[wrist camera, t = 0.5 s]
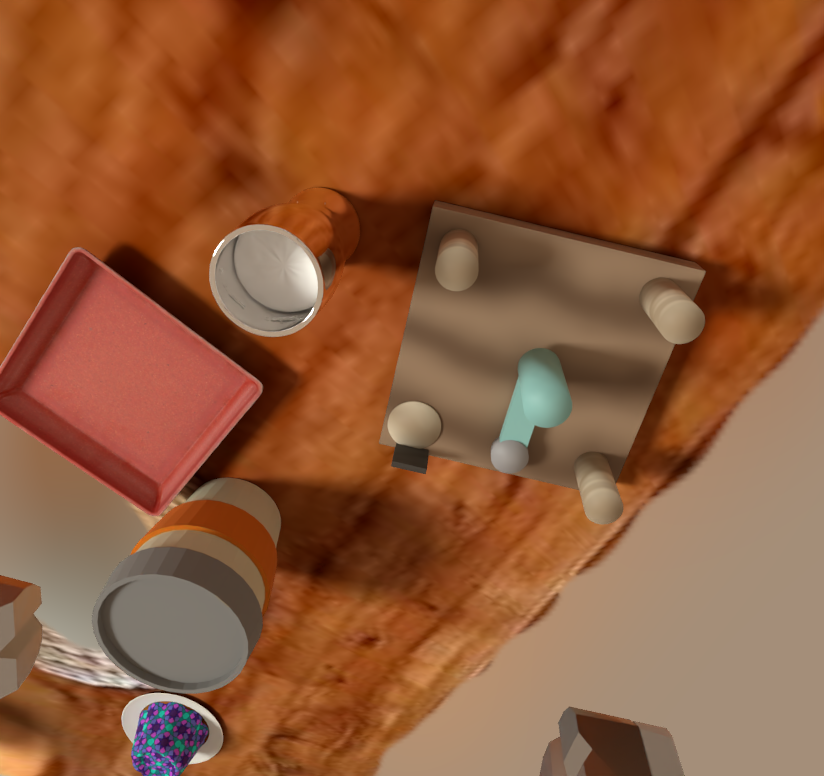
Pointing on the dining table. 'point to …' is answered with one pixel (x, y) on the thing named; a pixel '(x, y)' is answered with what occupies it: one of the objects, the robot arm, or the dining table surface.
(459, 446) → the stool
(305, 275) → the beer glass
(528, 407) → the folding leg
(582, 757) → the robot arm
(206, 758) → the purple patterned hat
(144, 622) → the reusable coffee cup
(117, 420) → the plant saucer
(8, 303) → the dining table surface
